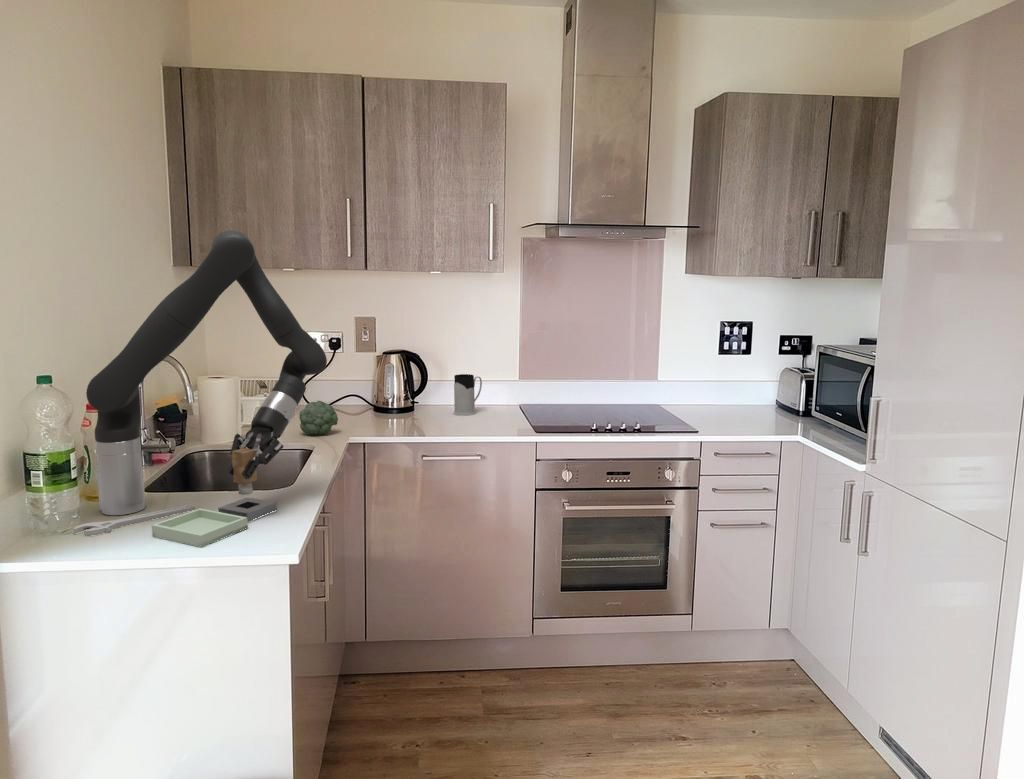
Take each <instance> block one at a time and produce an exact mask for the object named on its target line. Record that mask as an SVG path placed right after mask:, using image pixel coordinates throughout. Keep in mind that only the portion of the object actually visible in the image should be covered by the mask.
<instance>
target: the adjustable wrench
mask: <svg viewBox="0 0 1024 779" xmlns="http://www.w3.org/2000/svg"><path fill="white" fill-rule="evenodd" d="M195 508H196V506H195V505H194V504H185V505H181V506H176V507H171V508H167V509H162V510H157V511H152V512H147V513H143V514H138V515H134V516H129V517H125V518H120V519H114V520H106V521H93V522H86V523H82V524H79V525H77V526H74V528H73V534H74V533H78V532H81V531H84V530H85V531H84V532H83V536H84V535H85V536H89V537H92V536H91V535H96V536H99V535H98V534H101V535H103V534H102V533H105V534H106V533H107V534H108V533H111V532H112V531H113V530H115V528H116V529H119V528H122V527H121V526H123V527H126V525H128V526H131V525H130V524H132V525H135V523H137V524H140V522H141V523H145V522H144V521H146V522H149V520H150V521H153V520H152V519H155V520H157V519H156V518H159V519H162V518H161V517H164V518H166V517H165V516H168V517H171V516H170V515H173V514H177V513H182V514H184V513H183V512H187V511H192V510H194V509H195ZM195 510H196V509H195ZM187 513H188V512H187ZM173 516H174V515H173ZM118 527H119V528H118ZM86 529H87V530H86ZM112 529H113V530H112ZM81 533H82V532H81ZM85 536H84V537H85Z"/></svg>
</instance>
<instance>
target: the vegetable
mask: <svg viewBox="0 0 1024 779" xmlns="http://www.w3.org/2000/svg"><path fill="white" fill-rule="evenodd" d="M298 414H299V416H298V417H299V421H300V424H299V427H300V430H301V431H302V432H303V433H305V435H307V436H312V435H316V434H317V435H318V434H319V436H322V434H323V435H324V434H327V433H329V431H330V430H332V429H331V428H332V427H333V426H336V425H337V424H338V421H339V417H338V414H337V412H336V411H335V409H334V407H333V406H332V405H331V404H329V403H326V402H324V401H322V400H316V401H311V402H308V403H307V404H306V406H305V407H304V409H301V410H300V411H299V413H298ZM311 434H312V435H311Z"/></svg>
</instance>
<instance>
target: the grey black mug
mask: <svg viewBox="0 0 1024 779" xmlns="http://www.w3.org/2000/svg"><path fill="white" fill-rule="evenodd" d="M453 376H454V378H453V379H454V384H453V392H454V393H453V394H454V399H453V400H454V403H453V404H454V412H453V415H454V416H460V417H461V416H462V417H464V416H473V415H476V410H475V404H476V401H477V400H478V398H479V396H480V395H481V394H480V393H481V390H482V386H483V385H482V384H483V380H482V378H481V377H480V376H475V375H473V374H467V373H466V374H465V373H463V374H462V373H461V374H455V375H453ZM474 376H475V377H474ZM477 378H478V379H479V382H480V383H479V389H478V393H477V395H476V397H475V387H476V386H475V384H476V381H477V380H476V379H477Z"/></svg>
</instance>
